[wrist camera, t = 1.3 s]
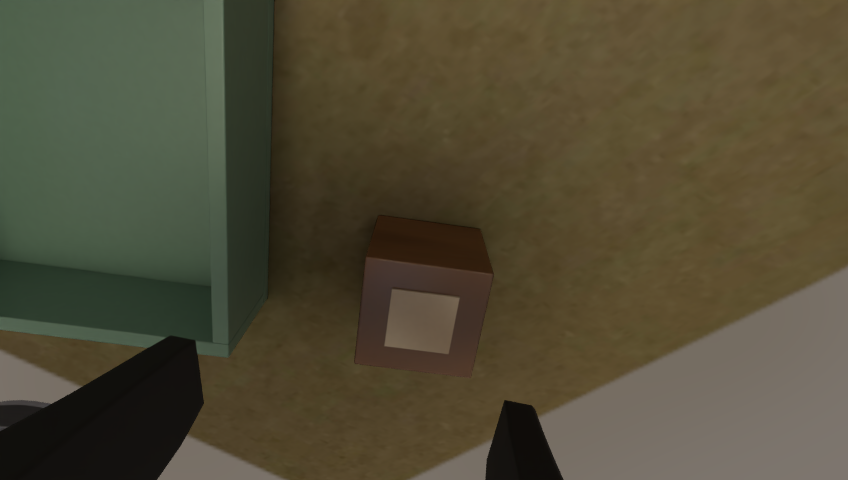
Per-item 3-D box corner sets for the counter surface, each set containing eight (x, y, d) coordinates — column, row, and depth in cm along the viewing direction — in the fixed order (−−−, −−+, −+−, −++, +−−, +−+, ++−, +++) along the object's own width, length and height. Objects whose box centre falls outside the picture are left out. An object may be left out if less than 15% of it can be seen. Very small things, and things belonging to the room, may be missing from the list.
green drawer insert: (267, 298, 22) (228, 358, 17) (-3, 263, 21) (-112, 316, 17) (274, -21, 17) (222, -46, 12) (-77, -78, 16) (-257, -124, 12)
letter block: (462, 317, 22) (471, 380, 18) (368, 304, 22) (353, 366, 17) (480, 228, 20) (495, 275, 16) (378, 214, 20) (364, 257, 16)
